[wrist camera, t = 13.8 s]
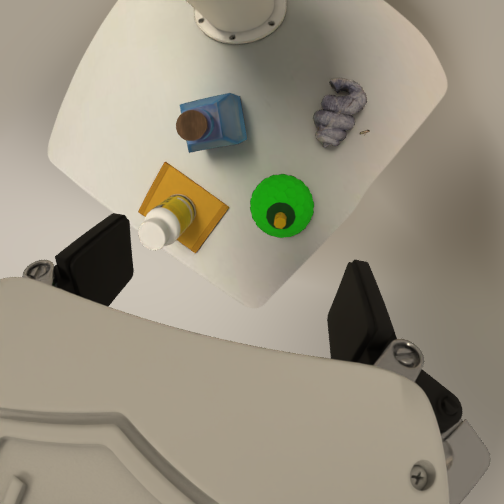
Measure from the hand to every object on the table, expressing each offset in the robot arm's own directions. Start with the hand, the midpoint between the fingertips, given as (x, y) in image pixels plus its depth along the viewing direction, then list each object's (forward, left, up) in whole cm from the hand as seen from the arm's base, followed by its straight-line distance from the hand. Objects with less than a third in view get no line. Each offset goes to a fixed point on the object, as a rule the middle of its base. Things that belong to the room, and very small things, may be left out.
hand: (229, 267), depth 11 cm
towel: (+10, -13, -28) cm, 33 cm away
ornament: (+5, +2, -28) cm, 29 cm away
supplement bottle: (+10, -13, -28) cm, 33 cm away
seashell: (-8, +7, -28) cm, 30 cm away
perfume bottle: (-4, -8, -28) cm, 30 cm away
